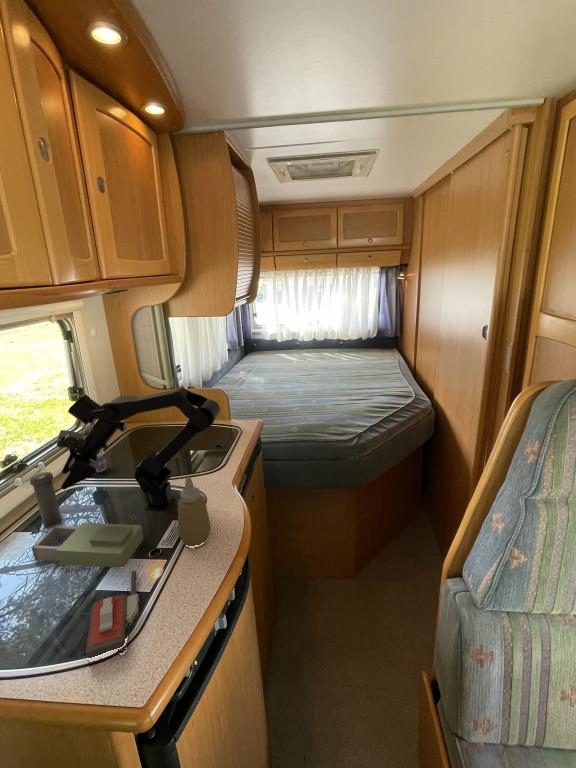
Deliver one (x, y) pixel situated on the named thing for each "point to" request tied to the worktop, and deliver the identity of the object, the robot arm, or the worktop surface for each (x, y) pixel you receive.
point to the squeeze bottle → (192, 516)
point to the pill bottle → (100, 462)
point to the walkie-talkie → (111, 621)
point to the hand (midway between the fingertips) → (62, 480)
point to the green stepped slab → (90, 544)
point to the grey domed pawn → (46, 498)
